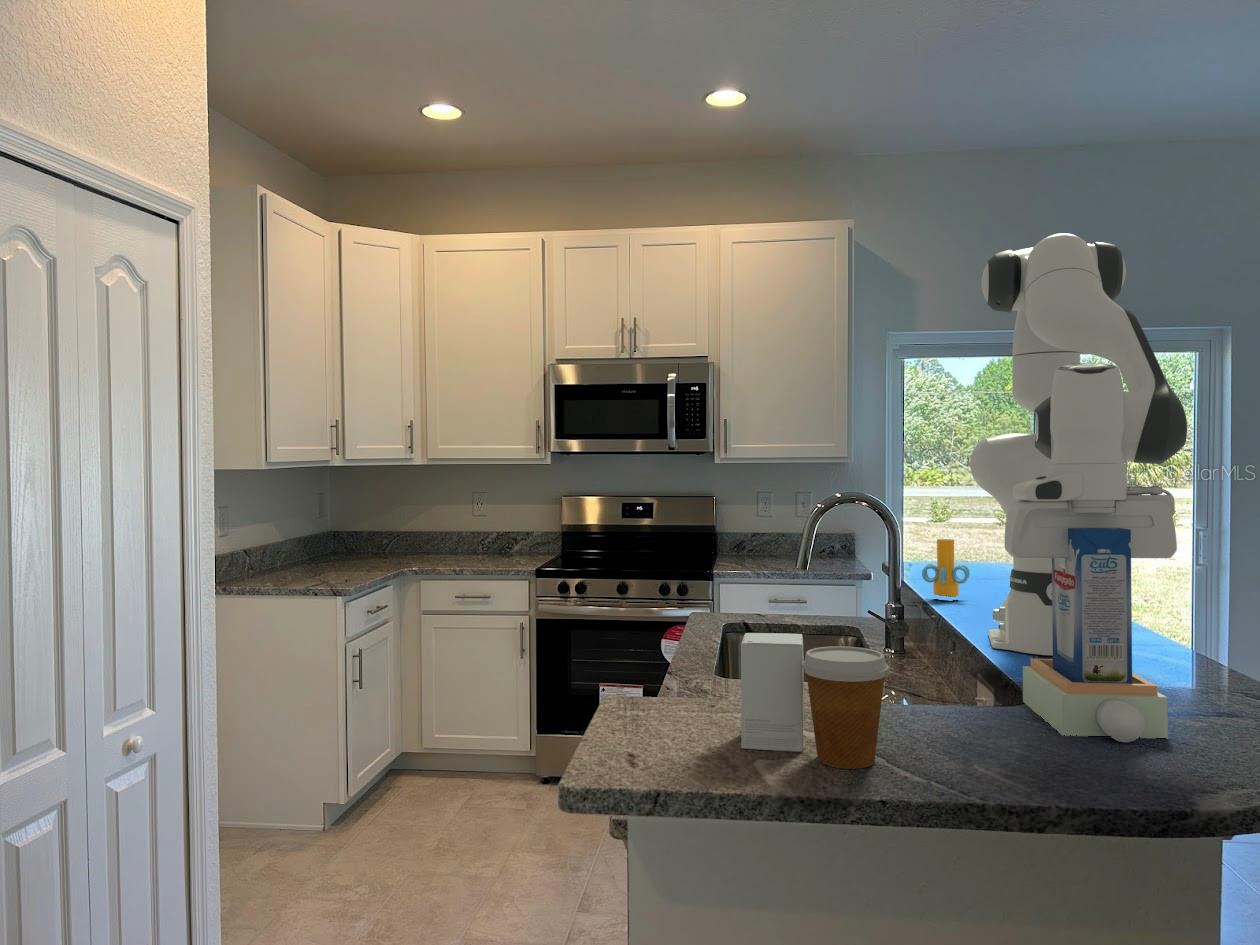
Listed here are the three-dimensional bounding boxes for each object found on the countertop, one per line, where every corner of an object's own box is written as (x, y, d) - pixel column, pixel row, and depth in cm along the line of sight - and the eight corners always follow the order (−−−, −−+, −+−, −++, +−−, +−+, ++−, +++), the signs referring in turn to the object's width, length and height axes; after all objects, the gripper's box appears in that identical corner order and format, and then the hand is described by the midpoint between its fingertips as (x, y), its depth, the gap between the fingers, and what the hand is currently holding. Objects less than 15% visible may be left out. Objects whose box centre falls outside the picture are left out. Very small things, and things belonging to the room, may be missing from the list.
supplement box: (804, 753, 103) (803, 644, 103) (739, 749, 105) (738, 642, 105) (804, 734, 110) (803, 632, 110) (744, 731, 112) (743, 631, 112)
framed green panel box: (1023, 701, 124) (1022, 657, 124) (1114, 704, 123) (1113, 659, 123) (1070, 743, 106) (1070, 691, 106) (1179, 746, 104) (1179, 693, 104)
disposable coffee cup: (786, 761, 100) (785, 654, 100) (830, 741, 107) (829, 642, 107) (864, 780, 94) (862, 666, 94) (904, 758, 101) (903, 652, 101)
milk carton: (1052, 671, 121) (1051, 524, 121) (1101, 672, 120) (1100, 524, 120) (1079, 690, 111) (1077, 529, 111) (1132, 691, 110) (1131, 529, 110)
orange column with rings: (931, 603, 215) (930, 541, 215) (913, 597, 226) (913, 538, 226) (979, 602, 216) (979, 540, 216) (960, 596, 227) (959, 537, 227)
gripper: (1162, 485, 117) (1164, 590, 117) (1000, 486, 120) (1001, 589, 120) (1185, 486, 111) (1187, 597, 111) (1013, 487, 114) (1014, 595, 114)
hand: (1089, 592), depth 116 cm, fingers closed on milk carton
